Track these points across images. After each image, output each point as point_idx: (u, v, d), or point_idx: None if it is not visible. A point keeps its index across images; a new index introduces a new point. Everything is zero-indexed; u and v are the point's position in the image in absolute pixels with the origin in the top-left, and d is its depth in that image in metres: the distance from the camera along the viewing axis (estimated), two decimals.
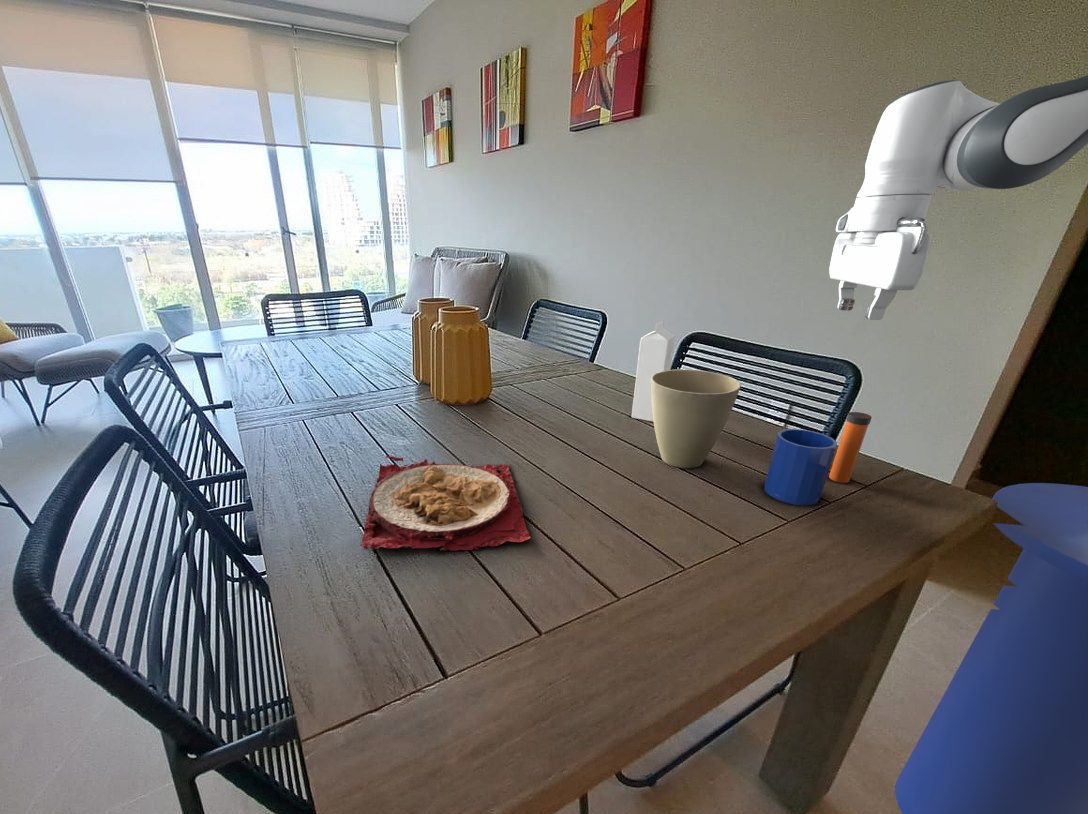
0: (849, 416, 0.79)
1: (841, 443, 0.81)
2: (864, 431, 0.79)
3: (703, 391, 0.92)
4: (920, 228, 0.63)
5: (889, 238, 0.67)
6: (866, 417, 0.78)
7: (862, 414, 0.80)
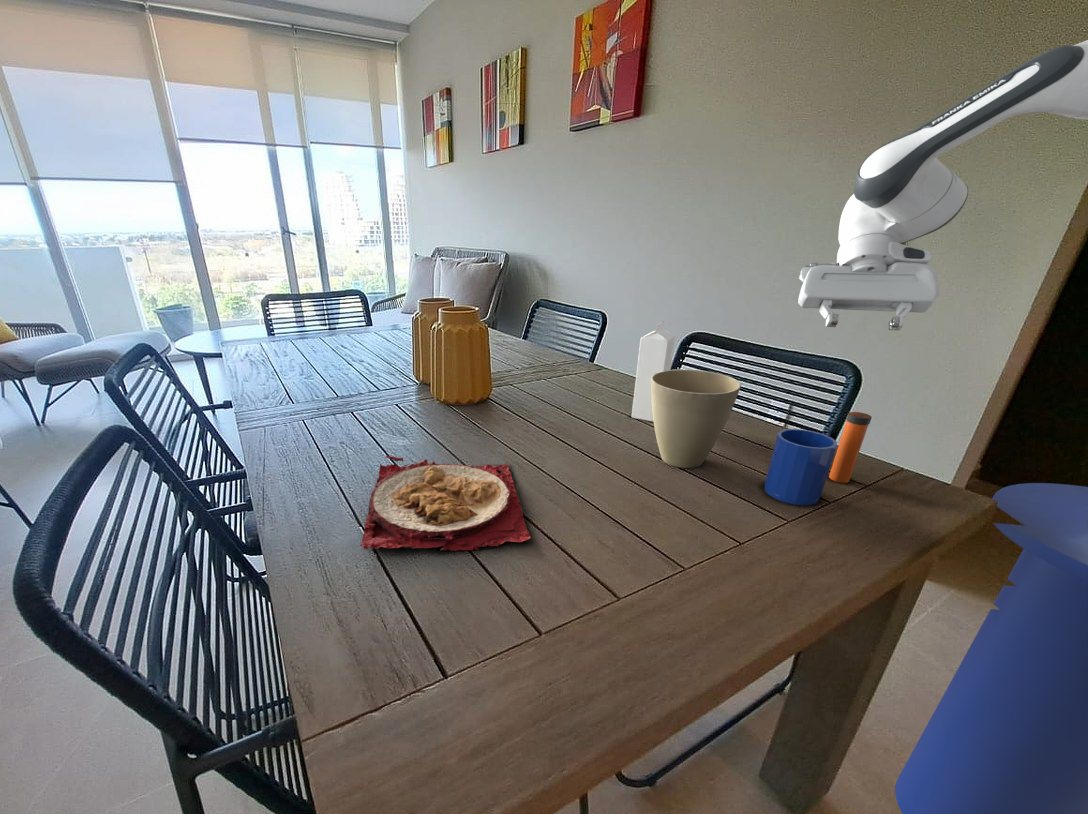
0: (849, 416, 0.79)
1: (841, 443, 0.81)
2: (864, 431, 0.79)
3: (703, 391, 0.92)
4: None
5: None
6: (866, 417, 0.78)
7: (862, 414, 0.80)
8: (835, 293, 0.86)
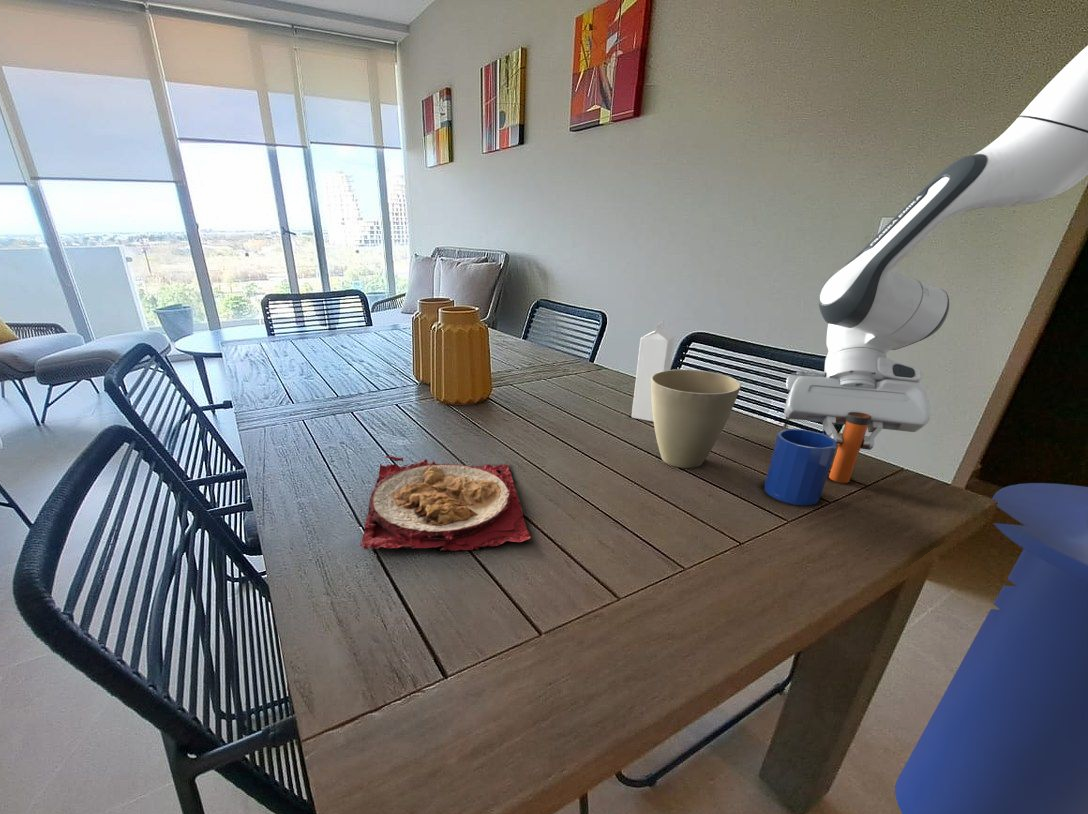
0: (849, 416, 0.80)
1: None
2: (864, 431, 0.79)
3: (703, 391, 0.92)
4: None
5: None
6: (866, 417, 0.78)
7: (862, 414, 0.80)
8: (822, 408, 0.83)
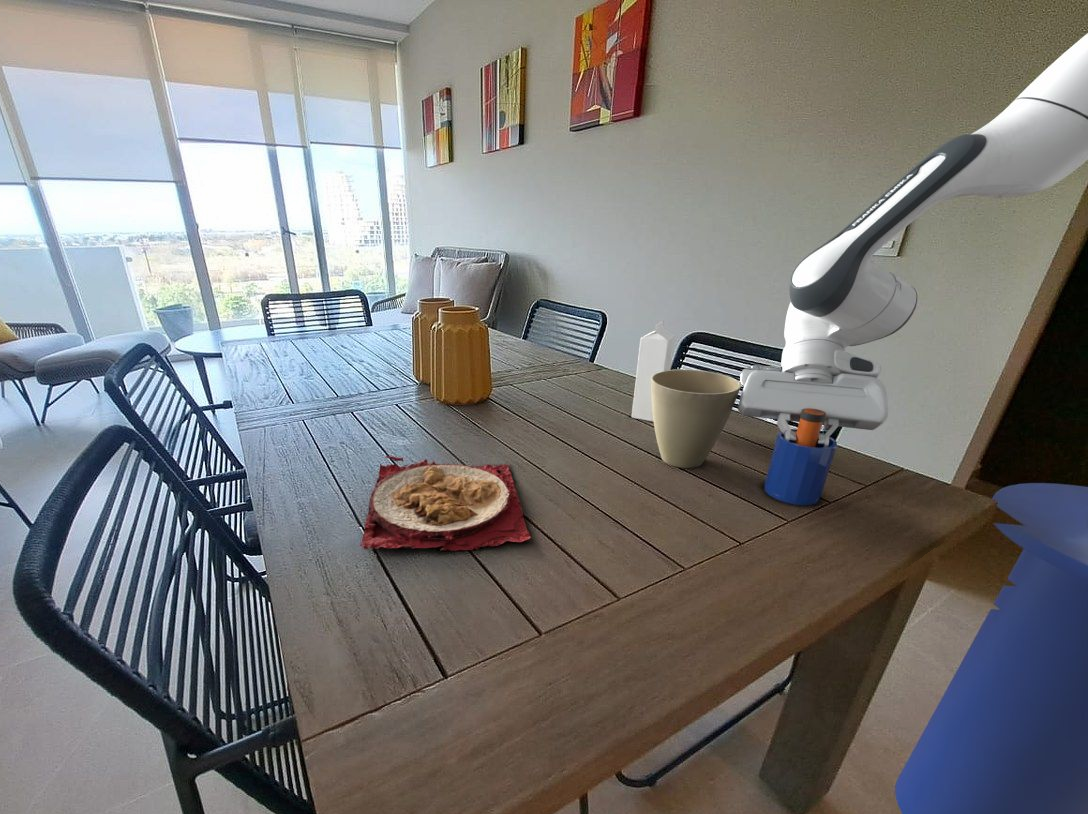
0: (802, 413, 0.74)
1: None
2: (818, 429, 0.74)
3: (703, 391, 0.92)
4: None
5: None
6: (820, 414, 0.73)
7: (816, 411, 0.74)
8: (775, 404, 0.77)
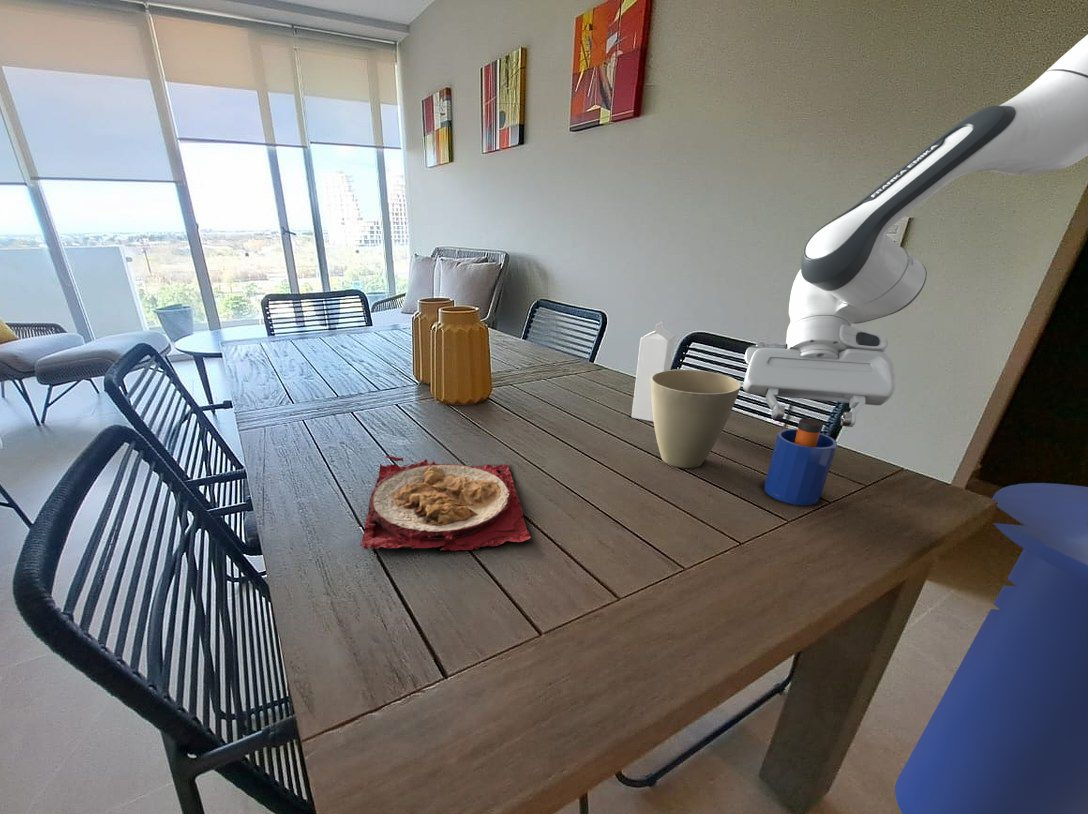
0: (800, 423, 0.75)
1: None
2: (816, 439, 0.74)
3: (703, 391, 0.92)
4: None
5: None
6: (817, 424, 0.74)
7: (814, 421, 0.75)
8: (781, 381, 0.77)
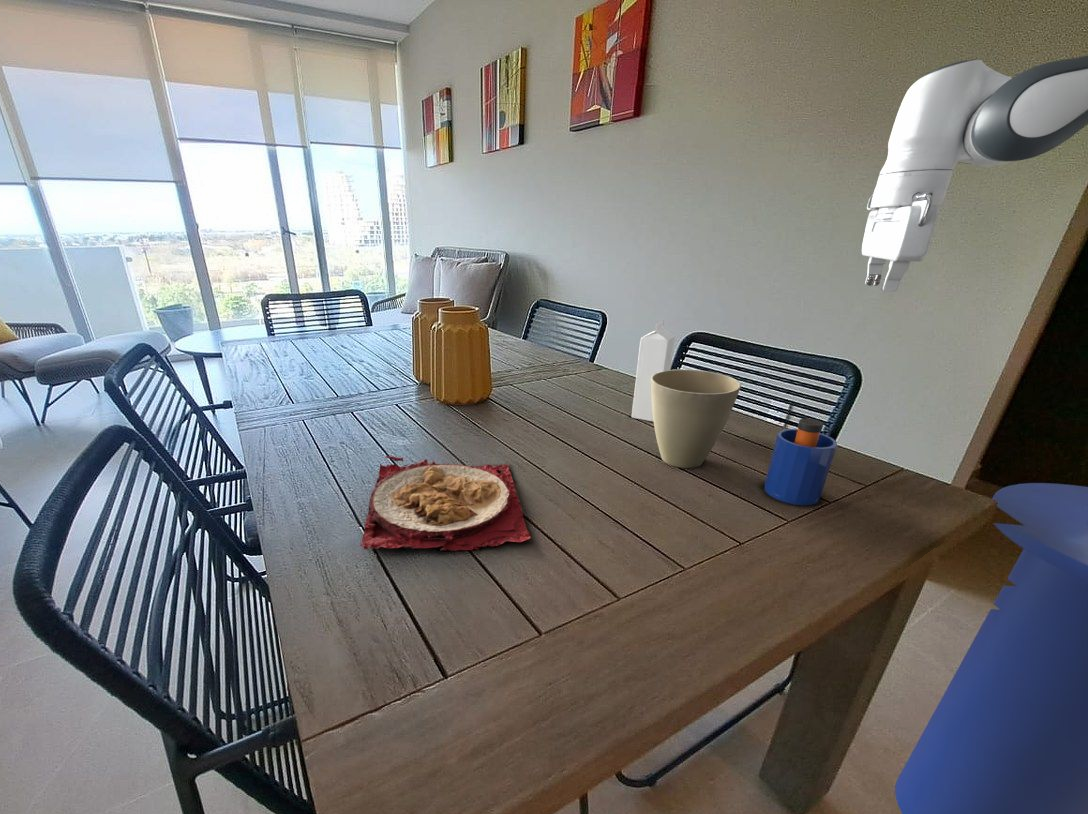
0: (800, 423, 0.75)
1: None
2: (816, 439, 0.74)
3: (703, 391, 0.92)
4: (926, 201, 0.67)
5: (901, 212, 0.71)
6: (817, 424, 0.74)
7: (814, 421, 0.75)
8: None
